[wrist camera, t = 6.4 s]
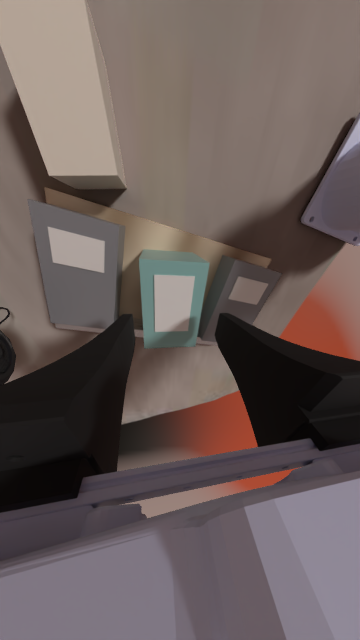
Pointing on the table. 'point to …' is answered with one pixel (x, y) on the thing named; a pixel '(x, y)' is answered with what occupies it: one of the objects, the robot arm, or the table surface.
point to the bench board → (151, 246)
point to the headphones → (6, 356)
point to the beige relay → (63, 89)
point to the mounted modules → (106, 273)
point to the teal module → (171, 297)
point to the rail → (137, 329)
